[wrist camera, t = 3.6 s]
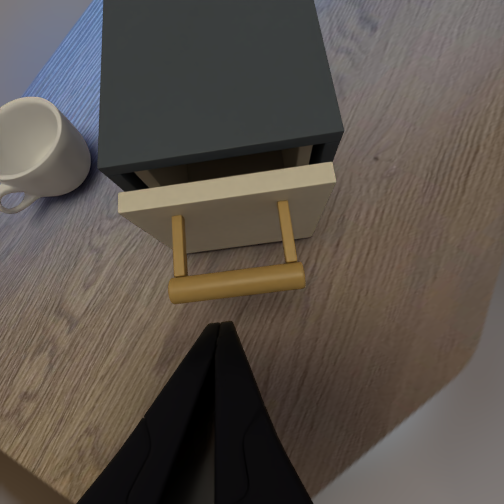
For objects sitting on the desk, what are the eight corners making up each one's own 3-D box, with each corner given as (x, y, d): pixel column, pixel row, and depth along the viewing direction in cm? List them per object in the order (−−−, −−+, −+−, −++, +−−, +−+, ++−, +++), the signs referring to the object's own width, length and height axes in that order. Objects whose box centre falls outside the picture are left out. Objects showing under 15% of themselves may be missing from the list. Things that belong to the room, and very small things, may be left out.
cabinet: (313, 215, 24) (344, 130, 13) (175, 234, 24) (96, 168, 14) (290, 91, 27) (300, -57, 16) (169, 111, 28) (103, -20, 17)
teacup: (55, 129, 28) (6, 87, 23) (116, 149, 27) (79, 109, 22) (4, 212, 27) (-62, 187, 21) (68, 237, 25) (14, 216, 20)
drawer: (322, 295, 21) (357, 278, 12) (181, 312, 22) (116, 308, 13) (289, 112, 26) (298, 0, 17) (173, 131, 26) (120, 32, 17)
